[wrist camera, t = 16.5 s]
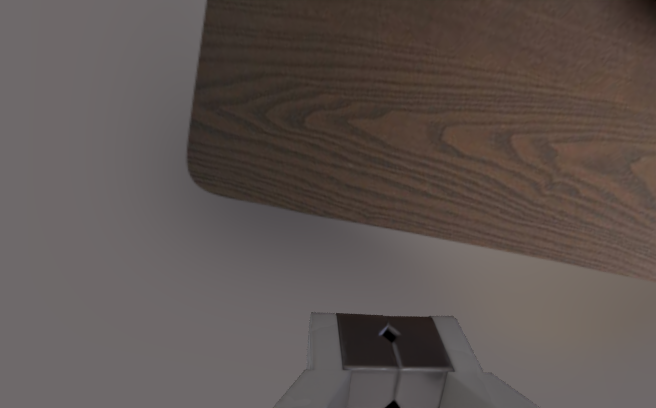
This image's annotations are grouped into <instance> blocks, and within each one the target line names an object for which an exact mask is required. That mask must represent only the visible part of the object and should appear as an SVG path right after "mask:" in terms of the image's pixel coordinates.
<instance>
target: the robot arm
mask: <svg viewBox="0 0 656 408" xmlns="http://www.w3.org/2000/svg"><path fill="white" fill-rule="evenodd" d="M273 408H540V407H539V406H537V405H536V404H534V403H533V402H532V401H530V400H529V399H527V398H526V397H525V396H523V395H522V394H520V393H519V392H518V391H516V390H515V389H513V388H512V387H511V386H509V385H508V384H506V383H505V382H504V381H502V380H501V379H499V378H498V377H497V376H495V375H494V374H492V373H486V372H483V370H482V368H481V366H480V364H479V362H478V360H477V358H476V356H475V354H474V352H473V350H472V348H471V346H470V344H469V342H468V341H467V338H466V336H465V334H464V333H463V331H462V329H461V327H460V325H459V323H458V321H457V319H456V318H454V317H453V316H429V317H412V316H410V317H409V316H383V315H363V314H343V313H336V314H335V313H313V312H312V313H311V316H310V324H309V337H308V351H307V367H306V370H304V372H303V373H302V374H301V375H300V376H299V378H298V379H297V380H296V381H295V382H294V383H293V385H292V386H291V387H290V388H289V389H288V391H287V392H286V393H285V394H284V395H283V396H282V398H281V399H280V400H279V401H278V402H277V403H276V405H275V406H274V407H273Z"/></svg>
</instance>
